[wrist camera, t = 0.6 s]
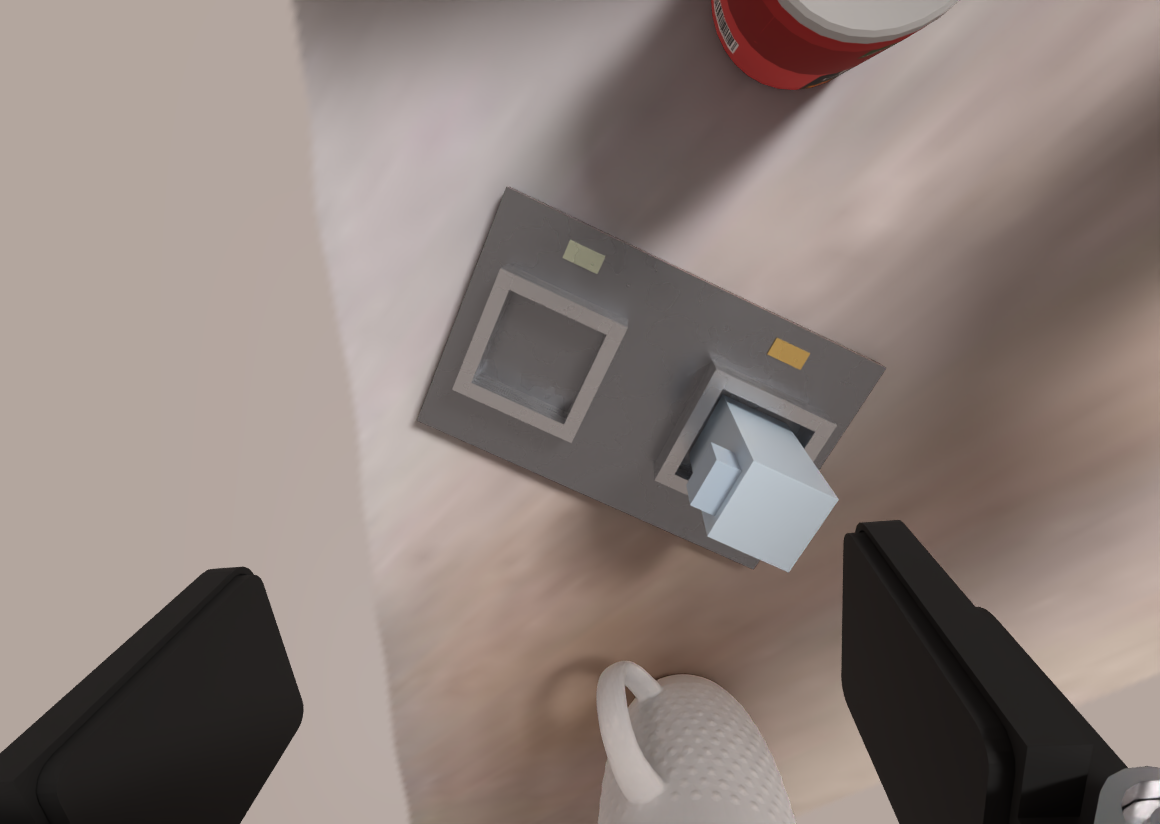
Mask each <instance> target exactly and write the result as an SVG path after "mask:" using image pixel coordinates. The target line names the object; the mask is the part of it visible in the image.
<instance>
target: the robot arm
mask: <svg viewBox="0 0 1160 824" xmlns="http://www.w3.org/2000/svg"><path fill="white" fill-rule="evenodd" d="M841 678H842V688H843V692H844V696H845V700H846V703H847V705H848V708H849V710H850V712H851V715H852V717H853V719H854V721H855V724H856V726H857V728H858V730H859V733H860V735H861V737H862V740H863V742H864V744H865V746H866V749H867V751H868V753H869V756H870V758H871V760H872V762H873V765H874V767H875V769H876V771H877V774H878V776H879V778H880V781H881V783H882V785H883V787H884V790H885V792H886V794H887V796H888V799H889V801H890V803H891V805H892V808H893V810H894V812H895V815H896V817H897V819H898V822H899V824H1160V768H1158V767H1149V766H1145V767H1136V768H1128V767H1127V766H1126V765H1125V764H1124V763H1123V762H1122V760H1121V759H1120V758H1119V757H1118V756H1117V755H1116V754H1115V753H1114V751H1113V750H1112V749H1111V748H1110V747H1109V746H1108V745H1107V743H1106V742H1105V741H1104V740H1103V739H1102V738H1101V737H1100V735H1099V734H1098V733H1097V732H1096V731H1095V730H1094V729H1093V728H1092V726H1091V725H1090V724H1089V723H1088V722H1087V721H1086V720H1085V718H1084V717H1083V716H1082V715H1081V714H1080V713H1079V712H1078V711H1077V709H1076V708H1075V707H1074V706H1073V705H1072V704H1071V703H1070V702H1069V700H1068V699H1067V698H1066V697H1065V696H1064V695H1063V694H1062V692H1061V691H1060V690H1059V689H1058V688H1057V687H1056V686H1055V685H1054V683H1053V682H1052V681H1051V680H1050V679H1049V678H1048V677H1047V675H1046V674H1045V673H1044V672H1043V671H1042V670H1041V669H1040V668H1039V666H1038V665H1037V664H1036V663H1035V662H1034V661H1033V660H1032V658H1031V657H1030V656H1029V655H1028V654H1027V653H1026V652H1025V651H1024V649H1023V648H1022V647H1021V646H1020V645H1019V644H1018V643H1017V642H1016V640H1015V639H1014V638H1013V637H1012V636H1011V635H1010V634H1009V632H1008V631H1007V630H1006V629H1005V628H1004V627H1003V626H1002V625H1001V623H1000V622H999V621H998V620H997V619H996V618H995V617H994V616H993V615H992V614H991V613H990V612H989V611H987V610H986V609H984V608H981V607H975V606H974V605H973V603H972V602H971V601H970V600H969V599H968V598H967V597H966V595H965V594H964V593H963V592H962V591H961V590H960V588H959V587H958V586H957V585H956V584H955V583H954V581H953V580H952V579H951V578H950V577H949V576H948V574H947V573H946V572H945V571H944V570H943V569H942V567H941V566H940V565H939V564H938V563H937V562H936V560H935V559H934V558H933V557H932V556H931V555H930V553H929V552H928V551H927V550H926V549H925V548H924V546H923V545H922V544H921V543H920V542H919V541H918V539H917V538H916V537H915V536H914V535H913V534H912V532H911V531H910V530H909V529H908V528H907V527H906V525H905V524H904V523H903V522H901V521H900V520H892V521H878V522H864V523H859V524H858V525H857V527H856V532H855V533H847V534H846V535H845V537H844V550H843V610H842V670H841ZM302 717H303V702H302V698H301V695H300V692H299V690H298V686H297V684H296V680H295V678H294V675H293V671H292V668H291V665H290V663H289V659H288V657H287V653H286V651H285V647H284V644H283V642H282V638H281V636H280V633H279V629H278V626H277V623H276V620H275V617H274V614H273V612H272V608H271V606H270V602H269V599H268V597H267V594H266V590H265V588H264V584H263V582H262V580H261V578H260V577H258V576H257V575H254V574H253V573H252V572H251V570H250V569H248V568H246V567H233V568H219V569H210V570H207V571H205V572H204V573H202V574H201V575H200V576H199V577H198V578H197V579H196V580H194V582H192V583H191V584H190V585H189V586H188V587H187V588H186V589H185V590H183V591H182V592H181V593H180V594H179V595H178V596H176V597H175V598H174V599H173V600H172V601H171V602H170V603H169V604H168V605H166V606H165V607H164V608H163V609H162V610H161V611H160V612H159V613H158V614H156V615H155V616H154V617H153V618H152V619H151V620H150V621H148V622H147V623H146V624H145V625H144V626H143V627H142V628H141V629H139V630H138V631H137V632H136V633H135V634H134V635H133V636H132V637H131V638H129V639H128V640H127V641H126V642H125V643H124V644H123V645H121V646H120V647H119V648H118V649H117V650H116V651H115V652H114V653H113V654H111V655H110V656H109V657H108V658H107V659H106V660H105V661H104V662H102V663H101V664H100V665H99V666H98V667H97V668H96V669H94V670H93V671H92V672H91V673H90V674H89V675H88V676H87V677H86V678H85V679H83V680H82V681H81V682H80V683H79V684H78V685H76V686H75V687H74V688H73V689H72V690H71V691H70V692H69V693H68V694H66V695H65V696H64V697H63V698H62V699H61V700H60V701H59V702H57V703H56V704H55V705H54V706H53V707H52V708H51V709H50V710H48V711H47V712H46V713H45V714H44V715H43V716H42V717H41V718H39V719H38V720H37V721H36V722H35V723H34V724H33V725H32V726H31V727H29V728H28V729H27V730H26V731H25V732H24V733H23V734H21V735H20V736H19V737H18V738H17V739H16V740H15V741H14V742H13V743H11V744H10V745H9V746H8V747H7V748H6V749H5V750H4V751H2V752H1V753H0V824H240V823H241V821H242V819H243V818H244V816H245V815H246V813H247V811H248V810H249V808H250V806H251V805H252V803H253V801H254V800H255V798H256V797H257V795H258V793H259V792H260V790H261V789H262V787H263V785H264V784H265V782H266V780H267V779H268V777H269V775H270V774H271V772H272V771H273V769H274V767H275V766H276V764H277V762H278V761H279V759H280V758H281V756H282V754H283V753H284V751H285V749H286V748H287V746H288V744H289V743H290V741H291V740H292V738H293V736H294V735H295V733H296V732H297V730H298V728H299V726H300V724H301V721H302Z"/></svg>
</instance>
